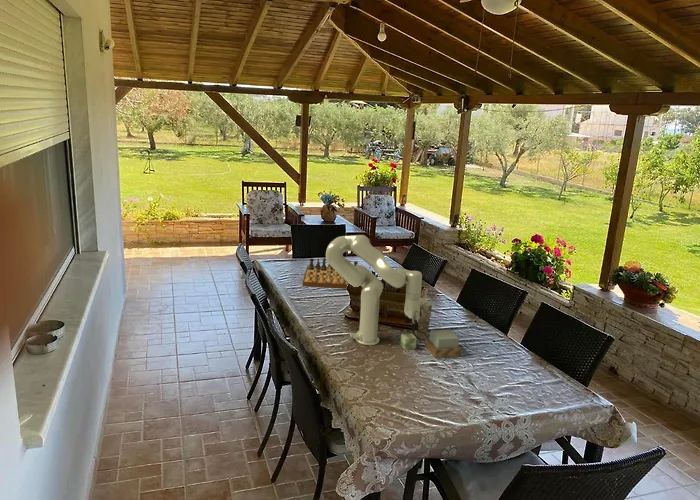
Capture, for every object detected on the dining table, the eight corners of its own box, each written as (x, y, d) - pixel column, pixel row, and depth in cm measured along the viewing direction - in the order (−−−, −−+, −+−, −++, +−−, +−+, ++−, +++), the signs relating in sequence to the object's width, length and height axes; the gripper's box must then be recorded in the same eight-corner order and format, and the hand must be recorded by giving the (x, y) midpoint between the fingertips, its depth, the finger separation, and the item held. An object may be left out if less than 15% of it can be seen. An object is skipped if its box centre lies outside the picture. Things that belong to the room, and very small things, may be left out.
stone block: (430, 339, 283) (433, 304, 278) (418, 339, 281) (421, 305, 276) (419, 329, 295) (423, 295, 290) (408, 330, 293) (411, 296, 288)
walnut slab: (435, 359, 260) (436, 350, 259) (424, 347, 273) (425, 338, 272) (460, 357, 264) (461, 348, 263) (448, 345, 277) (449, 337, 276)
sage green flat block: (437, 348, 261) (438, 339, 260) (429, 339, 271) (430, 330, 270) (457, 347, 264) (459, 338, 263) (448, 338, 274) (449, 329, 273)
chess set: (360, 290, 356) (362, 269, 352) (302, 287, 356) (303, 266, 352) (360, 273, 395) (361, 254, 391) (307, 270, 394) (308, 251, 391)
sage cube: (404, 349, 268) (405, 338, 267) (400, 344, 274) (401, 334, 272) (415, 348, 270) (416, 338, 268) (411, 344, 276) (412, 333, 274)
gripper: (400, 290, 272) (398, 320, 276) (412, 301, 256) (410, 333, 260) (413, 289, 274) (411, 319, 278) (426, 300, 258) (424, 332, 262)
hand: (411, 326), depth 269 cm, fingers open, 9 cm apart
